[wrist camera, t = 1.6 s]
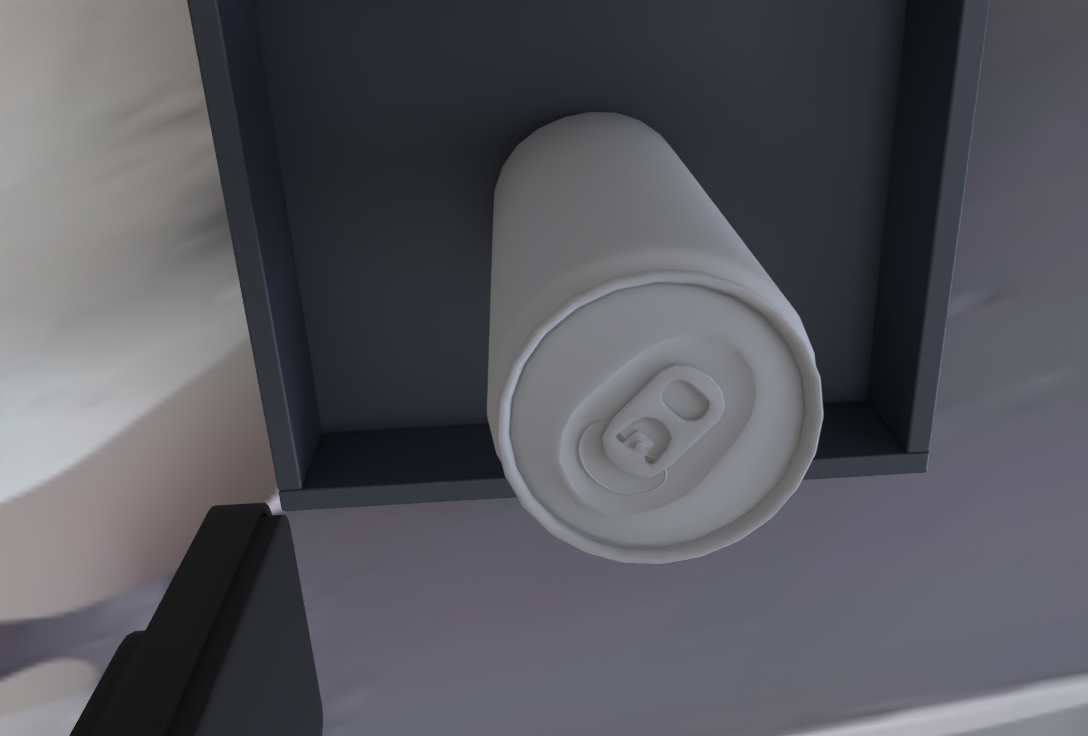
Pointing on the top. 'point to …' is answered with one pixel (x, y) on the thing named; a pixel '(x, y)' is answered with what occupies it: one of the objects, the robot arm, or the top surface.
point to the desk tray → (473, 171)
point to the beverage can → (638, 351)
